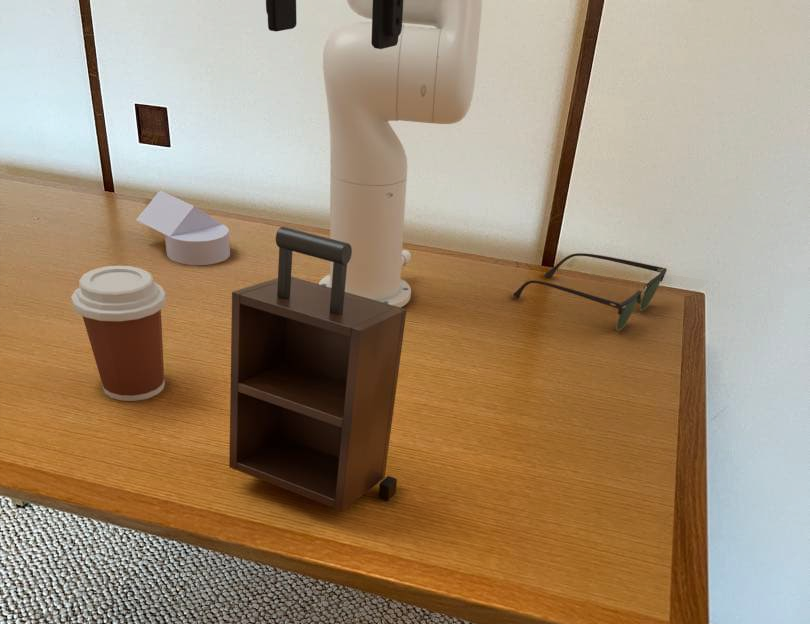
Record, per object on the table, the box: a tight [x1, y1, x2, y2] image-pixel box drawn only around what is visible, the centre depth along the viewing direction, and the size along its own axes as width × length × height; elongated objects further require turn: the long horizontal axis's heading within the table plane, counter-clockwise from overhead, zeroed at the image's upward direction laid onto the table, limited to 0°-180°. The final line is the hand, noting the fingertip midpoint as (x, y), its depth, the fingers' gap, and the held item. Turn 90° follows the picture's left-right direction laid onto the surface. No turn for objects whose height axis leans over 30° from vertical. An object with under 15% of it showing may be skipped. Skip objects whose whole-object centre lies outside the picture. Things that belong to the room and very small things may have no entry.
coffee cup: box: [70, 265, 167, 402], centre depth 84 cm, size 9×9×12 cm
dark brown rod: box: [378, 475, 398, 502], centre depth 78 cm, size 2×15×2 cm, turn 62°
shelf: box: [228, 226, 408, 511], centre depth 69 cm, size 21×12×8 cm
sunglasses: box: [512, 252, 668, 331], centre depth 112 cm, size 16×17×5 cm
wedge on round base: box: [135, 190, 231, 266], centre depth 117 cm, size 9×7×13 cm
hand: (332, 37), depth 65 cm, fingers open, 9 cm apart
